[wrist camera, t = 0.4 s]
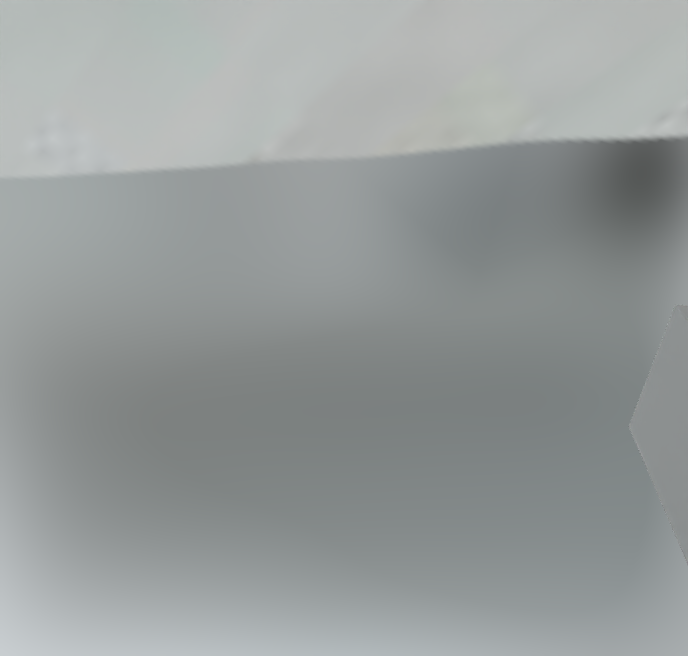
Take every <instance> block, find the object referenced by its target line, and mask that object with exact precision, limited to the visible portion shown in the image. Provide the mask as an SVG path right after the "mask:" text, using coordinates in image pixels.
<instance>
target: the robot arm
mask: <svg viewBox="0 0 688 656" xmlns="http://www.w3.org/2000/svg"><path fill="white" fill-rule="evenodd" d="M629 428H630V431H631V433H632V435H633V438H634V440H635V442H636V445H637V447H638V449H639V452H640V454H641V456H642V459H643V461H644V463H645V466H646V468H647V470H648V473H649V475H650V477H651V480H652V482H653V484H654V486H655V489H656V491H657V494H658V496H659V498H660V501H661V503H662V505H663V508H664V510H665V512H666V515H667V517H668V519H669V521H670V524H671V526H672V529H673V531H674V533H675V536H676V538H677V540H678V543H679V545H680V547H681V550H682V552H683V554H684V557H685V559H686V561H687V563H688V306H683V305H675V307H674V309H673V312H672V315H671V317H670V320H669V322H668V325H667V328H666V330H665V333H664V335H663V338H662V341H661V343H660V346H659V348H658V351H657V354H656V357H655V359H654V362H653V364H652V367H651V370H650V372H649V375H648V377H647V380H646V383H645V385H644V388H643V391H642V393H641V396H640V398H639V401H638V404H637V406H636V409H635V411H634V414H633V417H632V419H631V422H630V425H629Z"/></svg>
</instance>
